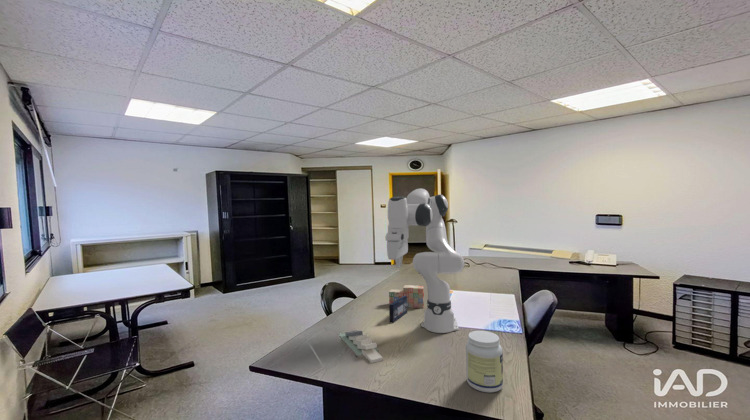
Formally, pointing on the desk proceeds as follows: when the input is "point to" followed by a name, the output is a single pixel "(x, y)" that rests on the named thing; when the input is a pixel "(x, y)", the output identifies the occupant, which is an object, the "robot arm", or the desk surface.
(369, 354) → the domino
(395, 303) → the vhs cassette tape
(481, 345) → the supplement tub
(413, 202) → the robot arm
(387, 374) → the desk surface
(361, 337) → the domino
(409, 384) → the desk surface
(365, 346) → the domino
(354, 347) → the mat
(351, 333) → the domino
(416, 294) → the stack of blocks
